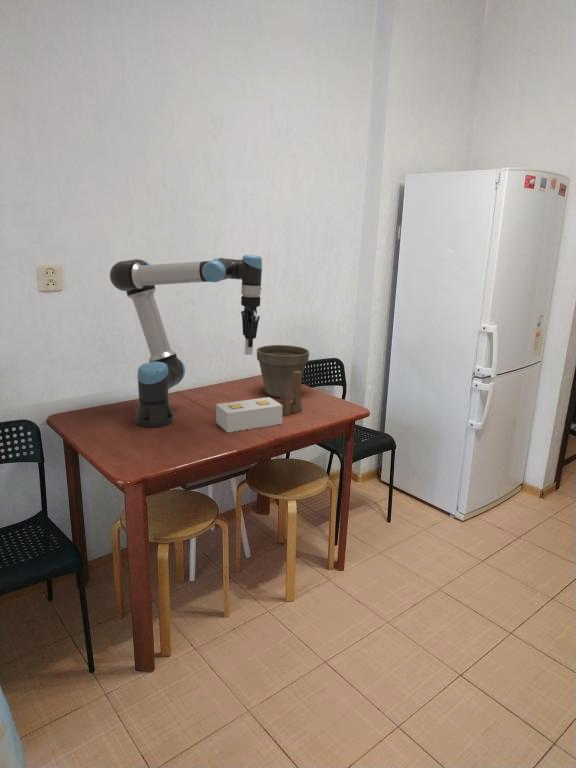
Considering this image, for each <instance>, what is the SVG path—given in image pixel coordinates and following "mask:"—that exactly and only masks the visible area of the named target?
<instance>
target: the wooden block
mask: <svg viewBox="0 0 576 768" xmlns="http://www.w3.org/2000/svg"><path fill="white" fill-rule="evenodd" d="M302 376H303V375H302V372H301V371H294V372H293V392H292V391H291V390H290V389H289V388H288V387H287V385H286V384H283V383H280V395H279V397H278V398H279V400H278V401H279V402H278V403H279V404H281V405H283V407H282V417H283V416H284V417H286V416H290V415H291V414H295V413H299V412H302V410H303V403H302V402H301V401H302V399H301V398H302V397H301V396H302Z"/></svg>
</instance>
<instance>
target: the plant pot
mask: <svg viewBox="0 0 576 768" xmlns="http://www.w3.org/2000/svg"><path fill="white" fill-rule="evenodd" d="M309 355H310V350H309V349H307V348H304V347H301V346H296V345H289V344H288V345H287V344H285V345H284V344H270V345H264V346H263V345H262V346H260V347H257V348H256V359H257V361H258V362H259V367H260V371H261V377H262V381H263V385H264V388H265V389H264V390H265V392H266V394H267V395H268V396H269V397H270V396H271V397H274V398H279V395H280V383H283V384H286V385H287V387H288V388H289V389H290V390H291V391H292V392H293V372H294V371H301V372H302V376H303V374H304V371H305V368H306V364H307V363H308V361H309V357H310V356H309Z"/></svg>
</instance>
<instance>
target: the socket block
mask: <svg viewBox="0 0 576 768" xmlns="http://www.w3.org/2000/svg"><path fill="white" fill-rule="evenodd" d="M258 401H267V402H268V403H269V404H268V405H258V404H257V403H256V402H258ZM236 404H239V405H240V406H242V408H239V409H231V408H230V407H229V405H236ZM282 407H283V405H281V404H279V402H278V401H276V400H275V399H273V398H271V397H270V396H267V397H261V398H253V399H246V400H239V401H230V402H221V403H216V405H215V413H216V414H215V415H216V418H215V423H216V424H217V425H218V426H219V427H220V428H222V430H224V431H225V432H226V433H227V434H228V432H229V433H234V431H235V432H240V431H239V430H241V431H246V429H248V430H253V428H254V429H260V428H264V427H265V428H266V427H270V426H272V427H273V426H278V424H279V425H283V415H282Z"/></svg>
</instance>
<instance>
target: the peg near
mask: <svg viewBox="0 0 576 768" xmlns="http://www.w3.org/2000/svg"><path fill="white" fill-rule="evenodd" d="M229 407H230V408H231V409H239V408H242V406H240V405H239V404H236V405H229Z"/></svg>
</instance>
